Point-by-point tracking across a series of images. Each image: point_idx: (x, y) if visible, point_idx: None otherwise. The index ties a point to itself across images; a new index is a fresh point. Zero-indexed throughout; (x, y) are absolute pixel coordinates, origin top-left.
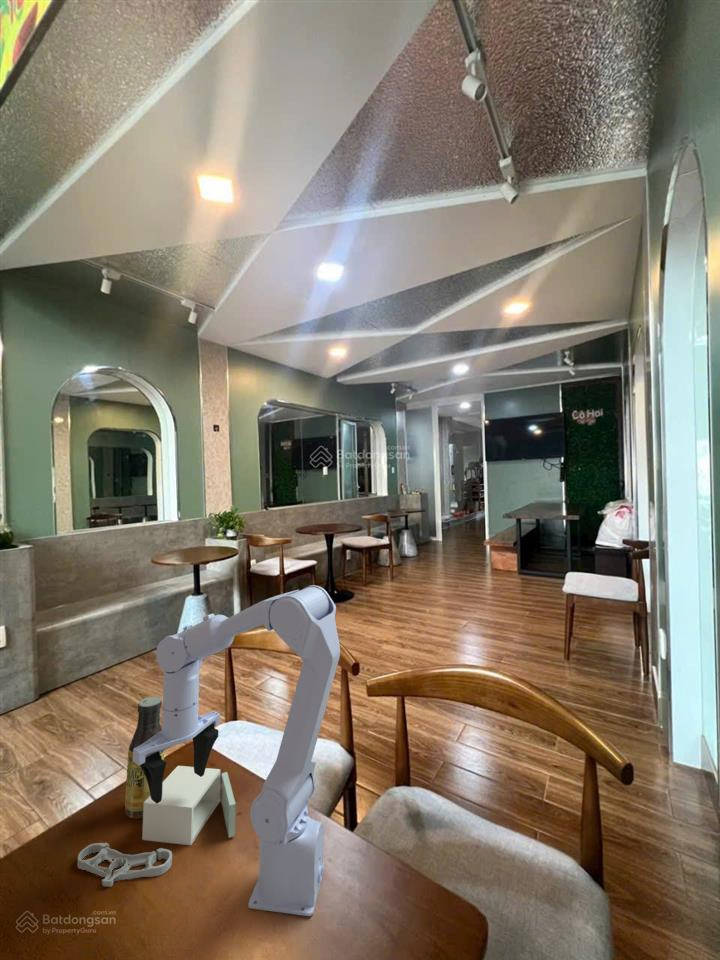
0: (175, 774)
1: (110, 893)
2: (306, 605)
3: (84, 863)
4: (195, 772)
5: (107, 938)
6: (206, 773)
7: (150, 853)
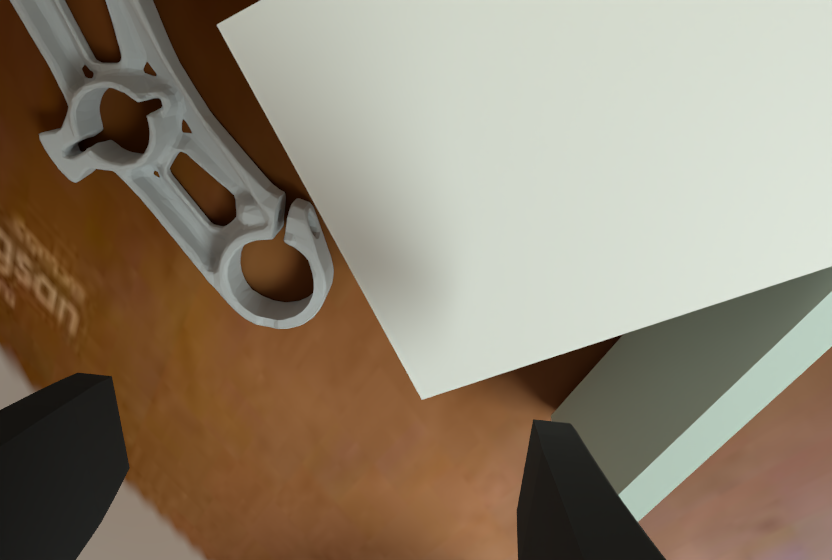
0: None
1: (83, 199)
2: None
3: None
4: (530, 445)
5: (40, 358)
6: (785, 181)
7: (258, 203)
